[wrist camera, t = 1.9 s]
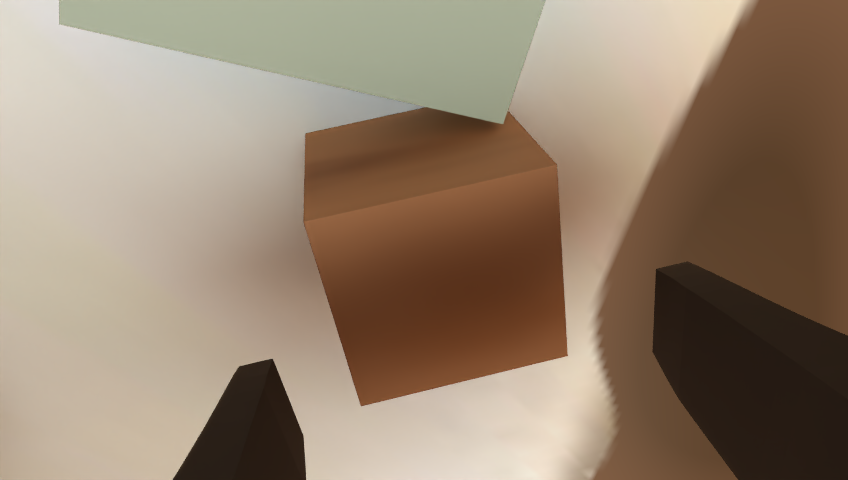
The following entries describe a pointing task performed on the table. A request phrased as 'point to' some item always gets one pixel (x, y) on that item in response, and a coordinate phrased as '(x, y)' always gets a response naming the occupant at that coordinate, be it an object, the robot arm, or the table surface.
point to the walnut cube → (436, 248)
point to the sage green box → (344, 42)
